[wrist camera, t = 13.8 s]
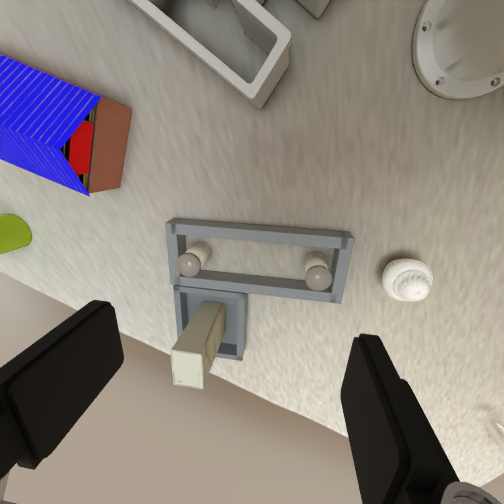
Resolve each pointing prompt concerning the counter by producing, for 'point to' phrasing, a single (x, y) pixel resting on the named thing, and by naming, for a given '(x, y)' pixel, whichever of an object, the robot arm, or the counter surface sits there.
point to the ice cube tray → (255, 27)
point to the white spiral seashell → (407, 280)
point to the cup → (495, 425)
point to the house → (60, 129)
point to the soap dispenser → (13, 233)
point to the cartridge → (316, 272)
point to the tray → (235, 316)
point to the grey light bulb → (193, 259)
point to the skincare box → (198, 345)
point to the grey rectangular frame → (260, 233)
